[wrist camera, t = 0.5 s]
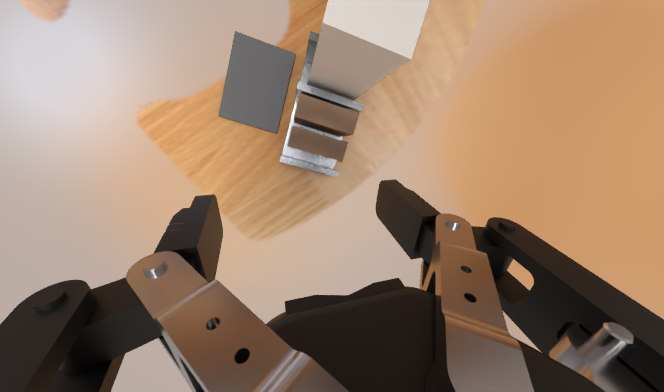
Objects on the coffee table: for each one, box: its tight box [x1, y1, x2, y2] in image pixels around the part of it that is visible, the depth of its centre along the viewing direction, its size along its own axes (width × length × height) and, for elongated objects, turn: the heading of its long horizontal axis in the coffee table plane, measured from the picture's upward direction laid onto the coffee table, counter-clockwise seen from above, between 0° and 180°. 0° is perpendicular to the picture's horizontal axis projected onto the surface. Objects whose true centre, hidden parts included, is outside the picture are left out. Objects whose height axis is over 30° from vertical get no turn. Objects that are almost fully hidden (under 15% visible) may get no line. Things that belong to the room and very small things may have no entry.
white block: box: [307, 0, 430, 100], centre depth 24 cm, size 4×6×20 cm, turn 74°
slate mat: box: [219, 31, 296, 133], centre depth 33 cm, size 11×8×1 cm
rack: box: [279, 31, 364, 177], centre depth 31 cm, size 15×8×8 cm, turn 164°
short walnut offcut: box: [287, 125, 348, 162], centre depth 32 cm, size 2×7×6 cm, turn 74°
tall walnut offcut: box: [294, 93, 359, 137], centre depth 31 cm, size 2×7×8 cm, turn 74°
